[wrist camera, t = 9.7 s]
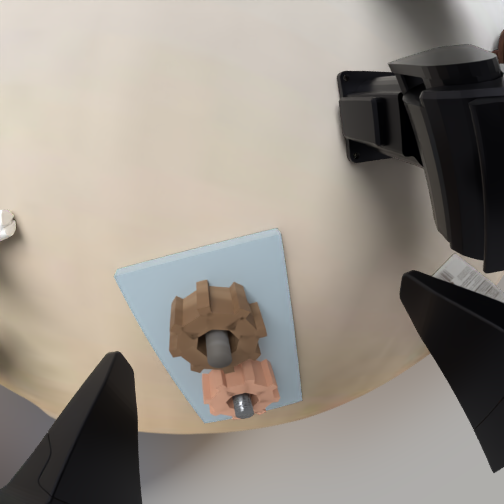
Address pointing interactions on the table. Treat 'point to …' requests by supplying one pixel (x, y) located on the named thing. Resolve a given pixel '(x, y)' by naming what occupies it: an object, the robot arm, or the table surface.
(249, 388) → the salmon gear
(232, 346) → the walnut gear
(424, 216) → the table surface
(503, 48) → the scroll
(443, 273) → the coffee box
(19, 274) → the table surface
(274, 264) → the gear board
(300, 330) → the table surface
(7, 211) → the seated beast figurine
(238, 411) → the metal gear peg
